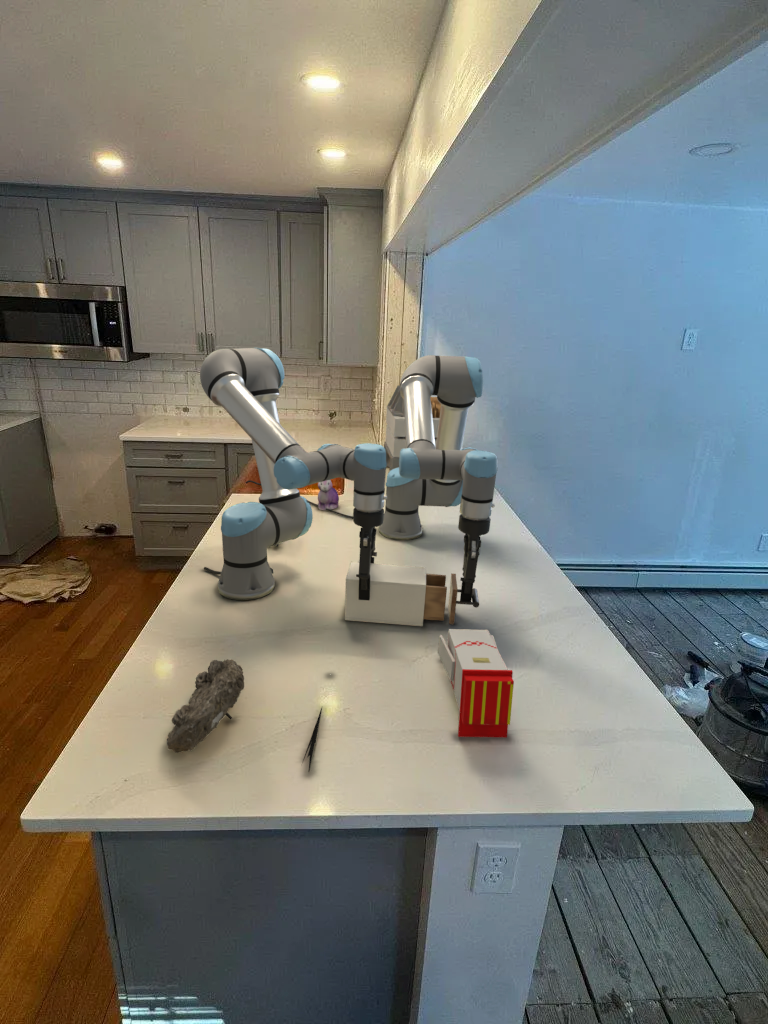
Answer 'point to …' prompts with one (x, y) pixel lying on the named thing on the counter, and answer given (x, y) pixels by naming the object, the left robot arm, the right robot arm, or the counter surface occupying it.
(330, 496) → the figurine
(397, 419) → the transformer
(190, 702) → the fossil
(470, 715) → the toy
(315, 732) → the feather
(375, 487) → the left robot arm
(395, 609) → the cabinet
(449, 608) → the drawer
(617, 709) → the counter surface
